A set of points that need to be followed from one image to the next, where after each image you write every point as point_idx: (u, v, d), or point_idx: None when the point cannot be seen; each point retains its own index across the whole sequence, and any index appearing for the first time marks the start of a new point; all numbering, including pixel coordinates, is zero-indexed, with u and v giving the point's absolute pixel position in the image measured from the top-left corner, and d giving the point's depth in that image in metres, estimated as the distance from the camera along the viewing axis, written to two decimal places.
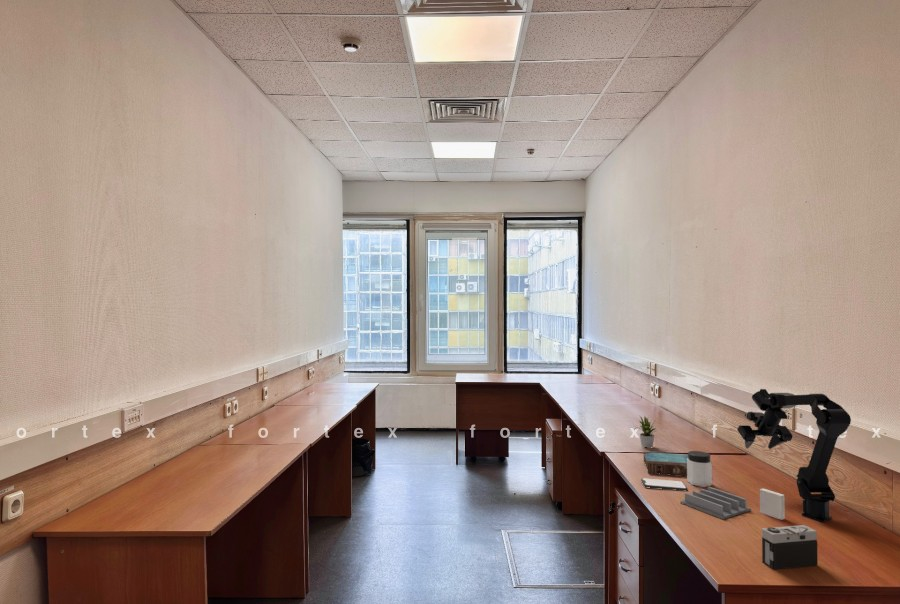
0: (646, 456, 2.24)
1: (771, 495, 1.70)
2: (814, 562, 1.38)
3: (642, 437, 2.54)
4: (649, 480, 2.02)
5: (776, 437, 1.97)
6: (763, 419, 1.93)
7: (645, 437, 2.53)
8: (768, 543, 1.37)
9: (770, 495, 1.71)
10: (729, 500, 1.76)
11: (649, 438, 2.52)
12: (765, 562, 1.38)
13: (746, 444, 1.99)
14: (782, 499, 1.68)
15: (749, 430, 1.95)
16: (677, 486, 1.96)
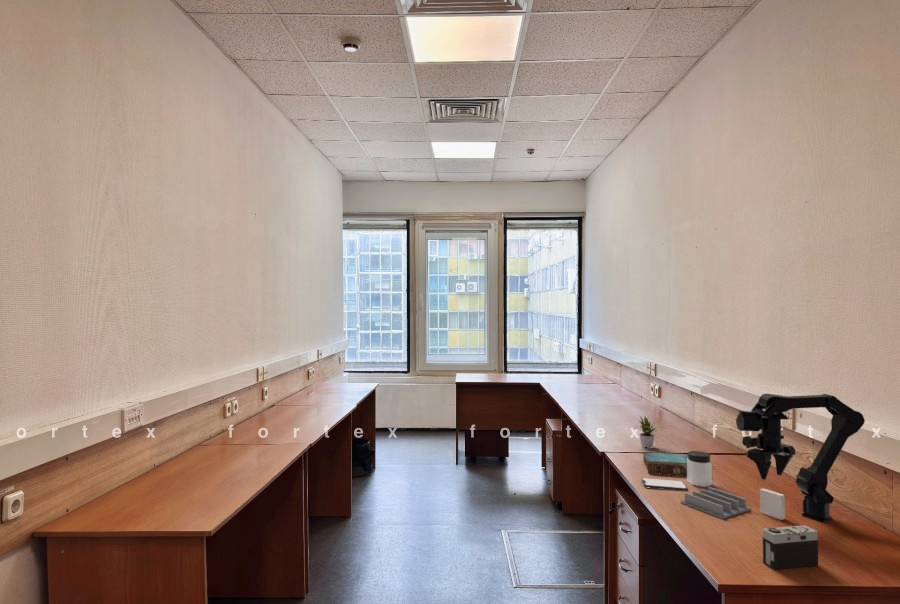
0: (646, 456, 2.24)
1: (771, 495, 1.70)
2: (815, 562, 1.37)
3: (642, 437, 2.54)
4: (649, 480, 2.02)
5: (781, 456, 1.74)
6: (765, 433, 1.71)
7: (645, 437, 2.53)
8: (769, 543, 1.37)
9: (770, 495, 1.71)
10: (729, 500, 1.76)
11: (649, 438, 2.52)
12: (766, 562, 1.38)
13: (763, 473, 1.69)
14: (782, 499, 1.68)
15: (760, 450, 1.68)
16: (677, 486, 1.96)
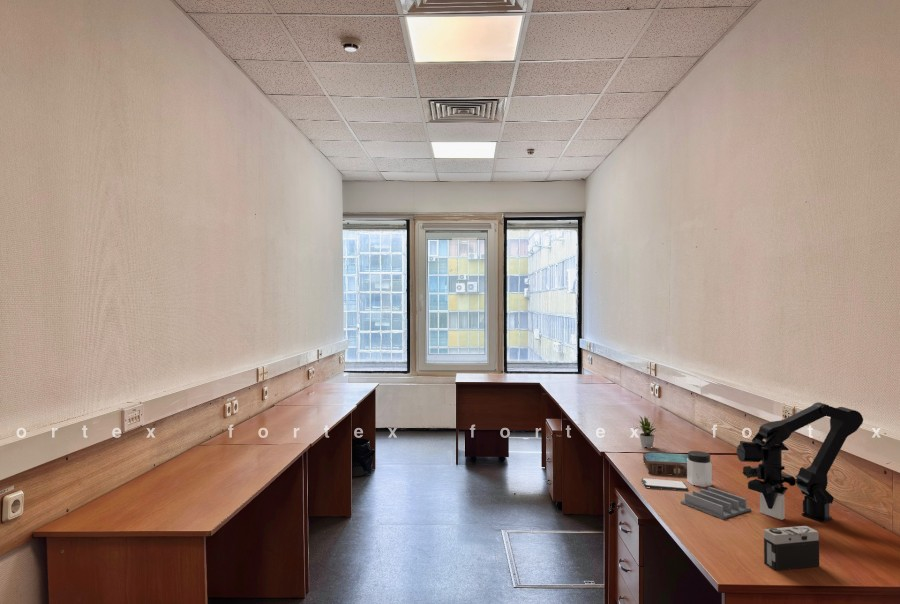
0: (646, 456, 2.24)
1: None
2: (816, 563, 1.37)
3: (642, 437, 2.54)
4: (649, 480, 2.02)
5: (775, 488, 1.72)
6: (766, 464, 1.70)
7: (645, 437, 2.53)
8: (770, 544, 1.37)
9: None
10: (729, 500, 1.76)
11: (649, 438, 2.52)
12: (767, 563, 1.38)
13: (769, 502, 1.70)
14: (782, 499, 1.68)
15: (761, 482, 1.68)
16: (677, 486, 1.96)
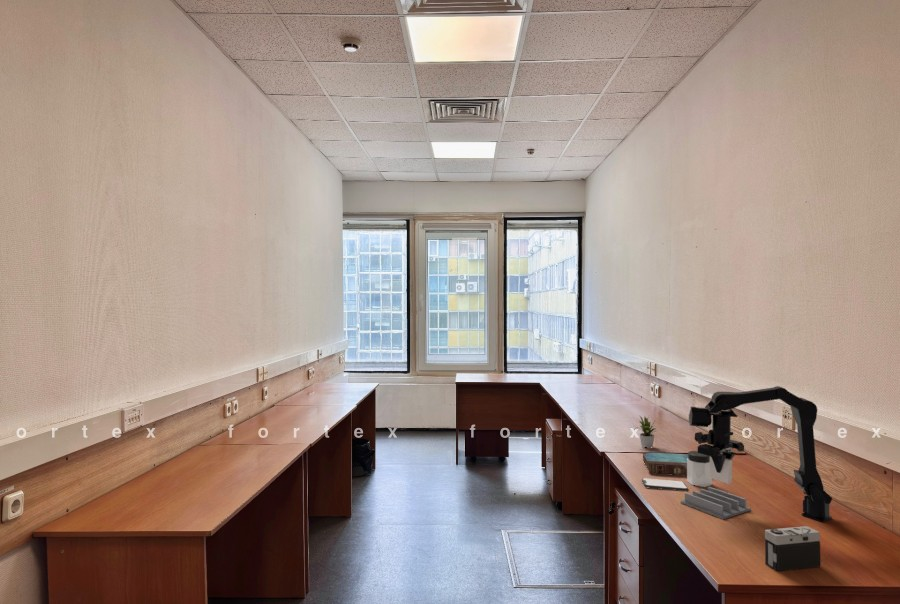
0: (646, 456, 2.24)
1: None
2: (817, 563, 1.37)
3: (642, 437, 2.54)
4: (650, 480, 2.02)
5: (724, 453, 1.78)
6: (715, 429, 1.77)
7: (645, 437, 2.53)
8: (772, 545, 1.36)
9: None
10: (729, 500, 1.76)
11: (649, 438, 2.52)
12: (768, 564, 1.37)
13: (718, 466, 1.77)
14: (729, 464, 1.75)
15: (710, 446, 1.74)
16: (678, 486, 1.96)
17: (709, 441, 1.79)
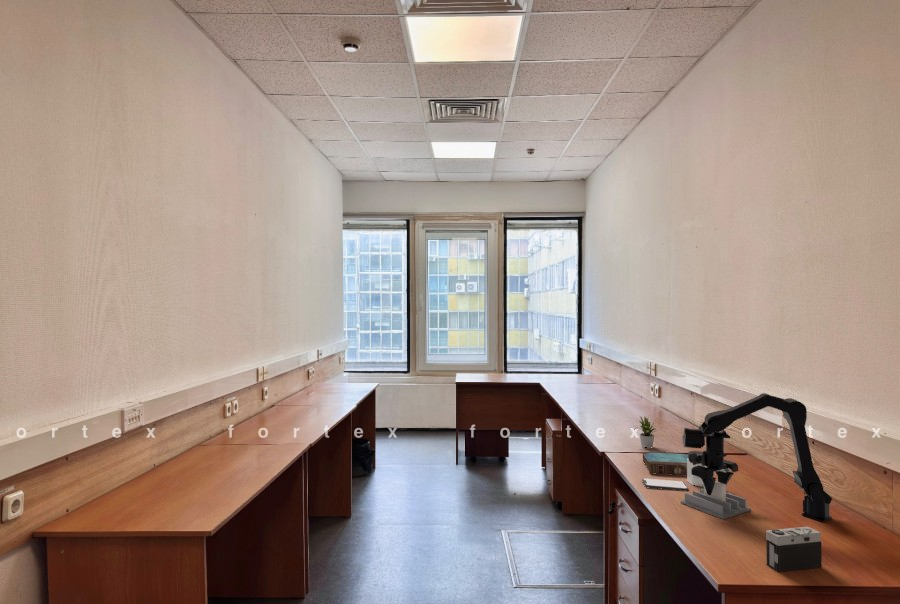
0: (646, 456, 2.24)
1: None
2: (818, 564, 1.37)
3: (642, 437, 2.54)
4: (650, 480, 2.02)
5: (722, 473, 1.80)
6: (709, 451, 1.78)
7: (645, 437, 2.53)
8: (773, 545, 1.36)
9: None
10: (729, 500, 1.76)
11: (649, 438, 2.52)
12: (769, 564, 1.37)
13: (708, 489, 1.76)
14: (723, 488, 1.76)
15: (704, 468, 1.75)
16: (678, 486, 1.96)
17: (703, 462, 1.80)
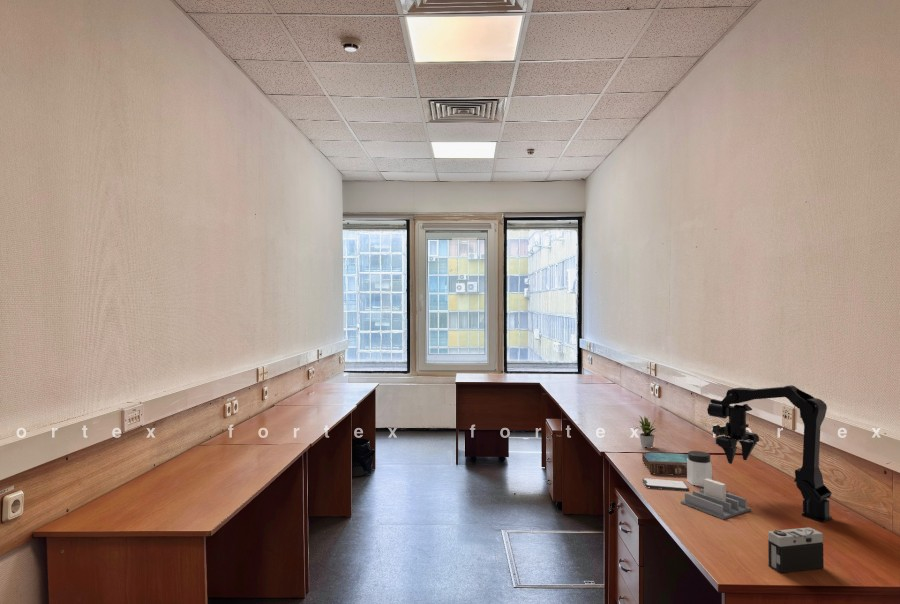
0: (646, 456, 2.23)
1: (713, 484, 1.78)
2: (820, 565, 1.36)
3: (642, 437, 2.54)
4: (650, 480, 2.02)
5: (746, 443, 1.94)
6: (732, 422, 1.91)
7: (645, 437, 2.53)
8: (775, 546, 1.35)
9: (713, 484, 1.78)
10: (729, 500, 1.76)
11: (649, 438, 2.52)
12: (771, 566, 1.36)
13: (729, 458, 1.89)
14: (723, 488, 1.76)
15: (727, 437, 1.88)
16: (678, 486, 1.96)
17: (726, 433, 1.93)
